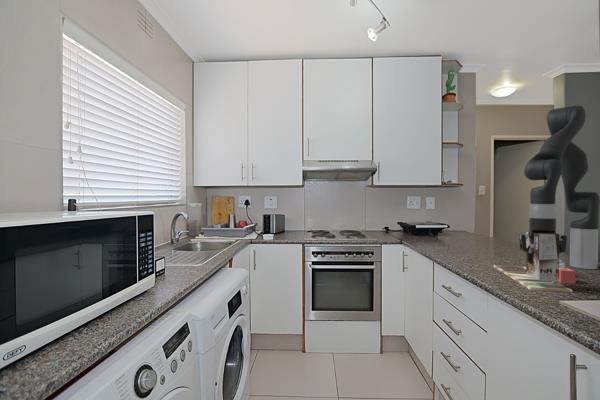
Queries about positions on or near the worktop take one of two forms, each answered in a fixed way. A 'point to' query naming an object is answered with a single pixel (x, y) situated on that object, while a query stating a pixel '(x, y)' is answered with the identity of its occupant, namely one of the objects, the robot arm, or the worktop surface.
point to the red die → (566, 275)
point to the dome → (561, 264)
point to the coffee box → (544, 257)
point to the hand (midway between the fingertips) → (542, 263)
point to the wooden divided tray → (532, 280)
